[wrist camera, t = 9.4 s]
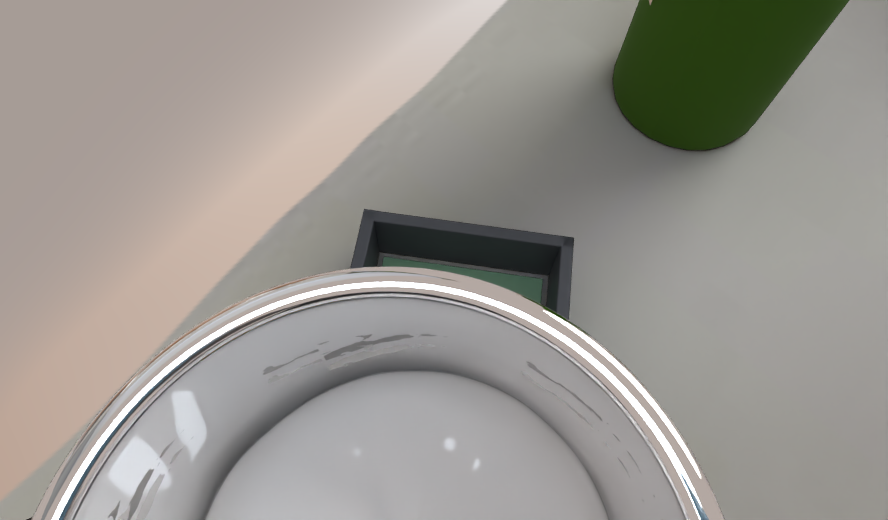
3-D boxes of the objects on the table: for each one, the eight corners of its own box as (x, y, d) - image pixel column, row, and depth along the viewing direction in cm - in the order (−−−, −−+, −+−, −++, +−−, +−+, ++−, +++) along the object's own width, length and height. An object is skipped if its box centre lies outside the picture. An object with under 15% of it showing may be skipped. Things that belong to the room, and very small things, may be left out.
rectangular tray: (560, 266, 33) (574, 237, 29) (527, 719, 24) (541, 745, 21) (370, 240, 33) (363, 208, 30) (275, 675, 25) (251, 695, 22)
